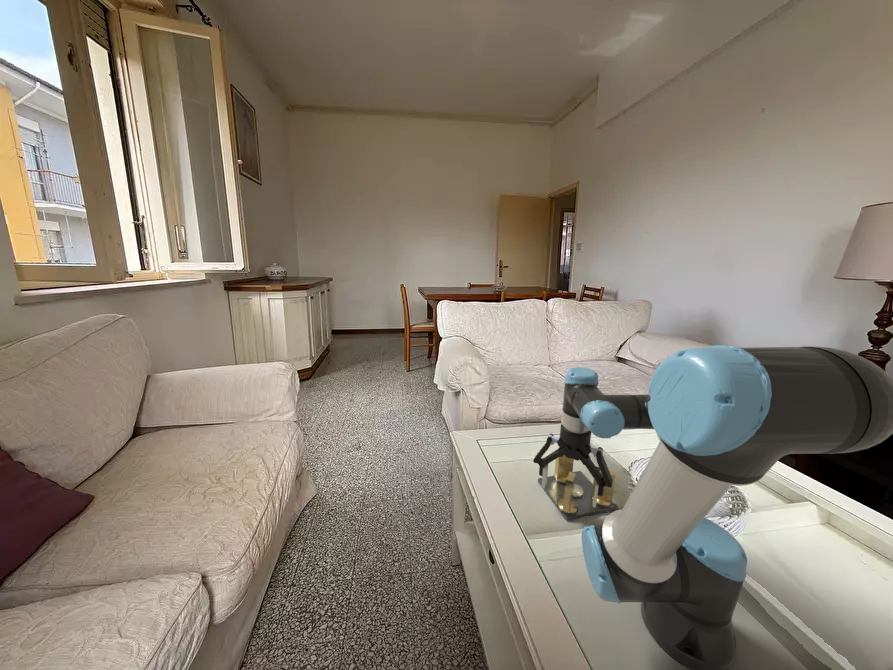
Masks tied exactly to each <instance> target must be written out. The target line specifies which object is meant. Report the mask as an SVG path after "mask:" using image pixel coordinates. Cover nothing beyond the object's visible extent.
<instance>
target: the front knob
mask: <svg viewBox="0 0 893 670" xmlns="http://www.w3.org/2000/svg"><path fill="white" fill-rule="evenodd" d="M573 472H574V471H573ZM573 472H569V474H568V477H567V479H566V481H565V490H564V498H563V499H560V500H559V501H558V507H559V509H560V510H561V511H563V512H565V513H569V514H572V513H575V512H576V511H577V504H576V503H575V502H574V501H572V500H573V492H574V483H575V474H576V473H573Z"/></svg>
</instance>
